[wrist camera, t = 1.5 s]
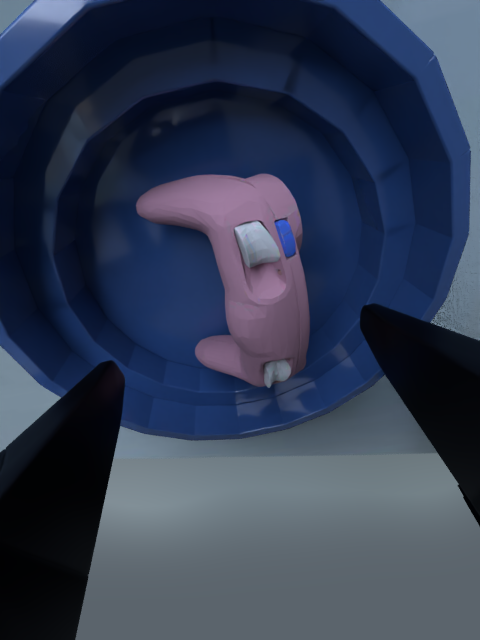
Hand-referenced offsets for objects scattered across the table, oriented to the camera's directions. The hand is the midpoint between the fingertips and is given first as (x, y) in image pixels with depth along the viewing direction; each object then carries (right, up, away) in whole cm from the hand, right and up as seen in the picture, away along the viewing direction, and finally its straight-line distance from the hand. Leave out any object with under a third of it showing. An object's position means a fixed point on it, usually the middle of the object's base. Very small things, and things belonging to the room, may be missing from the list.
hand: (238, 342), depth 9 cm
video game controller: (-1, +3, +5) cm, 6 cm away
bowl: (-1, +4, +5) cm, 6 cm away
